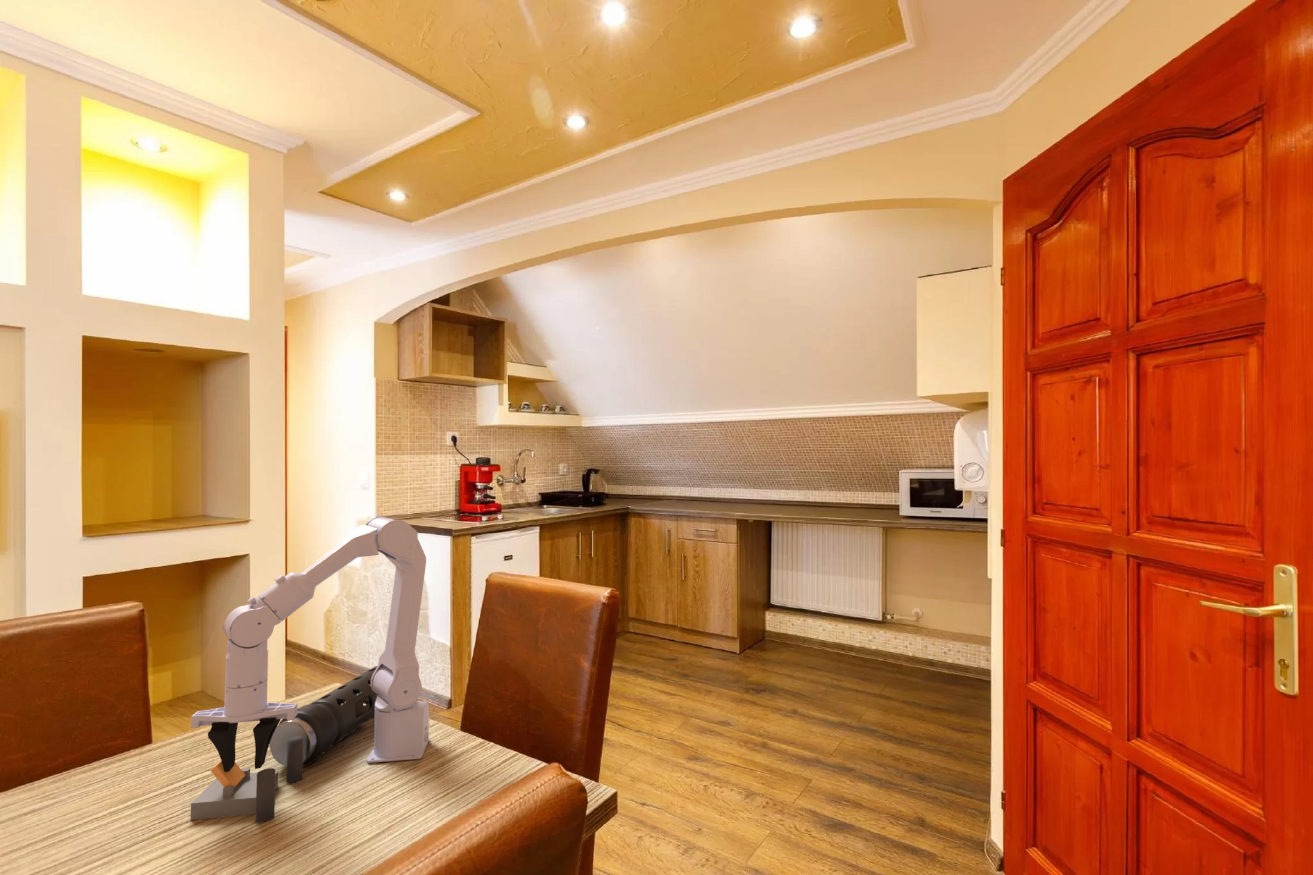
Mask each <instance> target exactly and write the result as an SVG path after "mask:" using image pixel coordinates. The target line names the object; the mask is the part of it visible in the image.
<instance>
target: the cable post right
mask: <svg viewBox="0 0 1313 875" xmlns="http://www.w3.org/2000/svg"><path fill="white" fill-rule="evenodd" d="M303 739H304V737H303V736H294V737H291V738H289V739H288V740H287V767H286V778H285V779H286V780H285V781H286V784H287V785H293V784H297V783H300V782H302V780H303V779H304V778H303V776H304V765H303Z"/></svg>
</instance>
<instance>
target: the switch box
mask: <svg viewBox="0 0 1313 875" xmlns="http://www.w3.org/2000/svg"><path fill="white" fill-rule="evenodd" d="M241 770H242V771H243V773H244V774H245V776H244V777H243V778H242V779H241V780H240V781H239V782H238V784H237V785H236V786H235V787H234V785H231V786H225V787H223V785H222V784H221V783H220V782H219V780H218V779H217V778H216V777H215V779H214V780H213V781H212V782H211V783H209V785H208V786H207V787H206V788H205V789H204V790H203V791H202V792H201V793H200V794H199V795H198V796H196V798H195V799H194V800H193V801H192V802H190V821H194V820H195V821H196V820H204V819H205V820H206V819H207V820H208V819H215V818H225V817H228V818H229V817H236V816H238V817H239V816H247V815H256V789H257V773H258V772H251V768H249V767H248V768H241ZM278 787H279V770H275V790H276V789H277V788H278Z"/></svg>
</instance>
